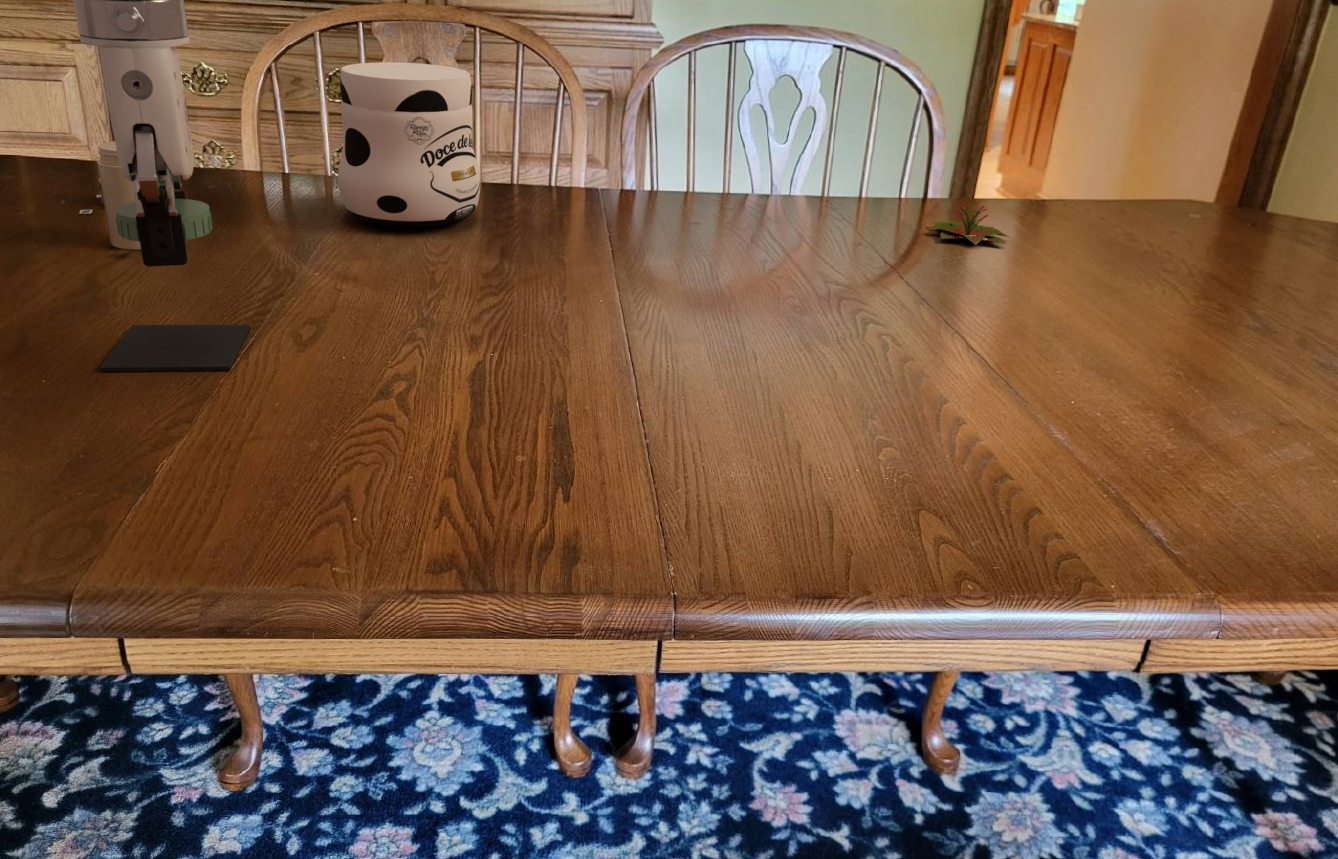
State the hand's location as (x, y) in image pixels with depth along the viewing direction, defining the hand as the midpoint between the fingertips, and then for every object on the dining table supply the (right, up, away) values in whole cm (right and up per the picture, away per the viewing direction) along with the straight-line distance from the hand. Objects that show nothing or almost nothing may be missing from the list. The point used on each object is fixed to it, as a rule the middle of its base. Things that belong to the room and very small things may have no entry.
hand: (168, 249), depth 87 cm
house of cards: (-28, +13, +44) cm, 54 cm away
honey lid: (0, +3, -1) cm, 3 cm away
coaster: (-1, -8, +4) cm, 9 cm away
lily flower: (+82, +11, +57) cm, 100 cm away
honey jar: (-18, +6, +31) cm, 36 cm away
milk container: (+9, +12, +47) cm, 49 cm away
